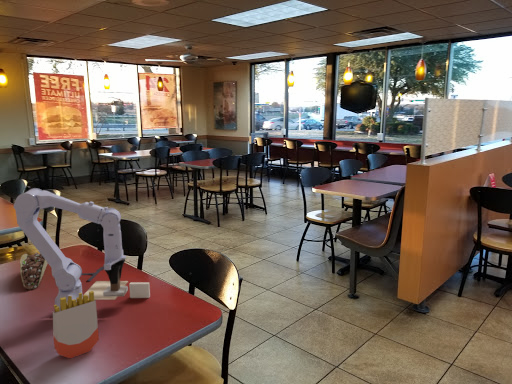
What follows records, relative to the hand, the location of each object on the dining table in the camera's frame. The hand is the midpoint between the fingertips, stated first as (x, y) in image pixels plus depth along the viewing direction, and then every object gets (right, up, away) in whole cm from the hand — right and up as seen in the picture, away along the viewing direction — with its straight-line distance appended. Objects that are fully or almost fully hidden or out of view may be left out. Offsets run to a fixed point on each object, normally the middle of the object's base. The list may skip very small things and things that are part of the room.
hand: (115, 281), depth 138 cm
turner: (0, -4, +1) cm, 4 cm away
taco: (-42, -4, +27) cm, 50 cm away
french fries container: (-2, -15, -24) cm, 28 cm away
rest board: (-9, -7, +14) cm, 18 cm away
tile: (+6, -8, +8) cm, 13 cm away
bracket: (-25, -5, +29) cm, 38 cm away
